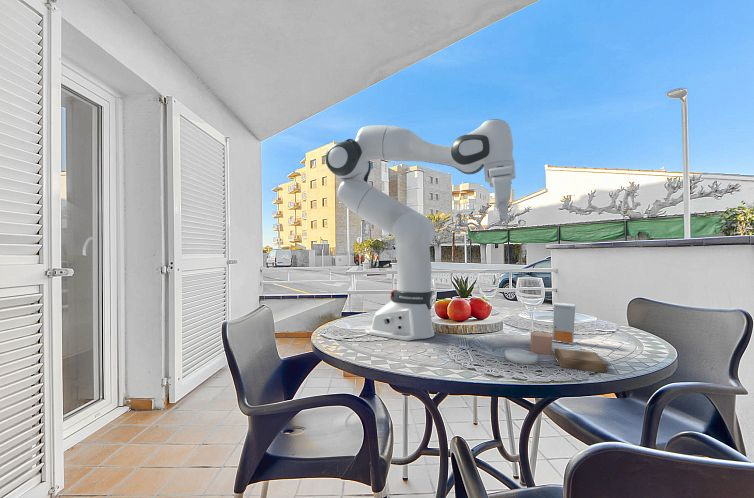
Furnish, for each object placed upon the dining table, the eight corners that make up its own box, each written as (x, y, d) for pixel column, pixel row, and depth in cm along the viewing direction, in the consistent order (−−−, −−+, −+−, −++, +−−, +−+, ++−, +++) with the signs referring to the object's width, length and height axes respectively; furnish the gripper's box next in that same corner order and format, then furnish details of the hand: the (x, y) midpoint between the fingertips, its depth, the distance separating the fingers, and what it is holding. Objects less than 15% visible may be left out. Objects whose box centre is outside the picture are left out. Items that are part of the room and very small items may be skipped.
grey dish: (505, 361, 95) (505, 356, 95) (504, 353, 102) (504, 347, 102) (539, 365, 92) (539, 359, 92) (535, 356, 100) (535, 351, 100)
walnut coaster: (560, 367, 92) (560, 358, 92) (554, 355, 101) (554, 347, 101) (606, 372, 89) (606, 363, 89) (595, 360, 98) (595, 351, 98)
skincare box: (551, 342, 116) (553, 303, 115) (552, 339, 119) (553, 302, 119) (573, 345, 113) (575, 305, 113) (573, 342, 117) (575, 304, 116)
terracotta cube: (532, 353, 103) (532, 335, 103) (530, 348, 108) (530, 331, 108) (551, 355, 102) (552, 337, 102) (549, 350, 107) (549, 333, 107)
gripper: (488, 181, 123) (492, 222, 123) (488, 169, 103) (493, 218, 103) (509, 178, 121) (512, 220, 121) (512, 166, 101) (517, 216, 101)
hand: (503, 219), depth 112 cm, fingers open, 8 cm apart
